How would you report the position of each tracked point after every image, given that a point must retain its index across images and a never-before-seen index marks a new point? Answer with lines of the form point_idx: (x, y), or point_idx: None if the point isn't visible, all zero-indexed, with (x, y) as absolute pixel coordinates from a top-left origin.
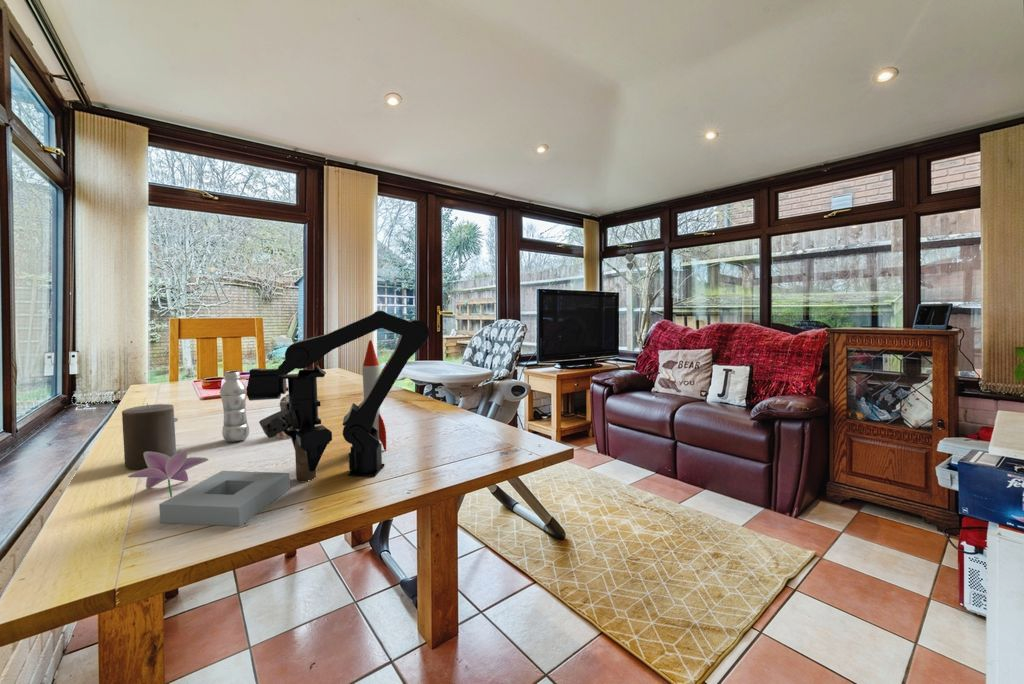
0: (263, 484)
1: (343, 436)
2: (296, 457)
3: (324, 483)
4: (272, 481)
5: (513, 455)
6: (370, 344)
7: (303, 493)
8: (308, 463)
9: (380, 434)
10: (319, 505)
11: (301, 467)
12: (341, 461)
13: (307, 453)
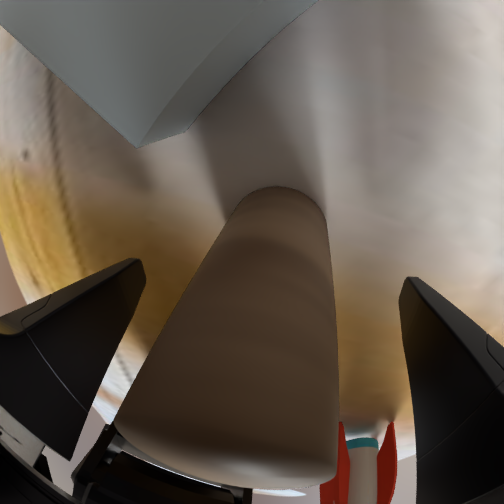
0: (62, 18)
1: (104, 477)
2: (234, 265)
3: (166, 269)
4: (68, 55)
5: None
6: None
7: (110, 176)
8: (81, 280)
9: (333, 480)
10: (30, 202)
11: (215, 242)
12: (354, 377)
13: (9, 317)
